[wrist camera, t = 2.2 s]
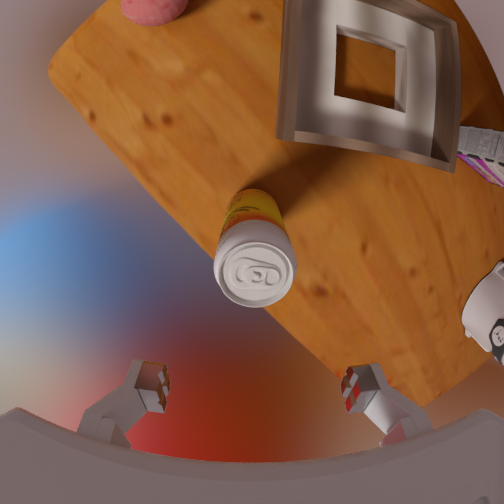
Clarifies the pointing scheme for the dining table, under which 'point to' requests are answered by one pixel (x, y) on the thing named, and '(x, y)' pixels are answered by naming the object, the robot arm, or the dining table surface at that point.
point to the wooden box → (406, 80)
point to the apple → (152, 11)
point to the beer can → (254, 251)
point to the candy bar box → (483, 152)
